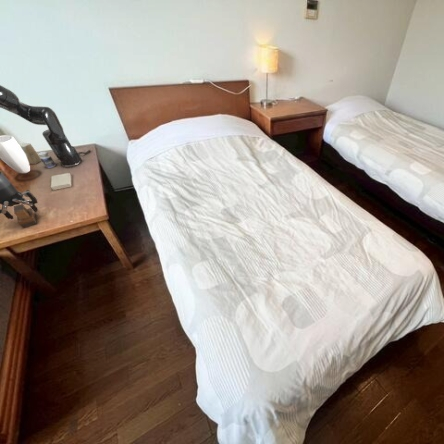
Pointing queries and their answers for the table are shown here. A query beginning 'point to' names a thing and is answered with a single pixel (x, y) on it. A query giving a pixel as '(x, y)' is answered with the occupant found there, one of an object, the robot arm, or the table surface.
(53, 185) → the tile
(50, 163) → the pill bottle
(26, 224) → the brush
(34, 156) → the olive brown tapered block
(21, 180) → the table surface
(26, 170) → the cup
